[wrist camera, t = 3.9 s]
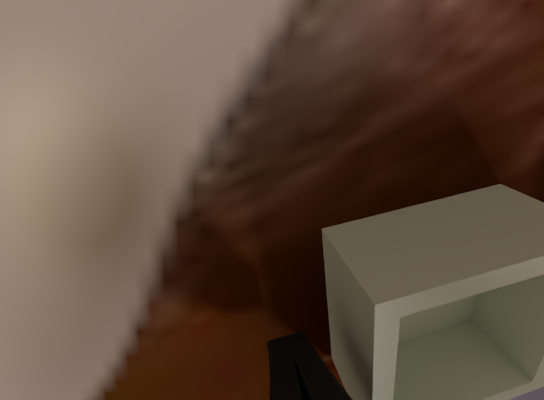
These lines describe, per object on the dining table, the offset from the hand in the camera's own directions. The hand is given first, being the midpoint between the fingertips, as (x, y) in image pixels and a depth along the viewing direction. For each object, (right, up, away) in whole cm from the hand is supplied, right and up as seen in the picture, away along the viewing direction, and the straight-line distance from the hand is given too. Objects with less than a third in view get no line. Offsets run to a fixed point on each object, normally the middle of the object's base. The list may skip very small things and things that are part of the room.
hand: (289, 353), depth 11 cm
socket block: (+5, +2, +2) cm, 6 cm away
